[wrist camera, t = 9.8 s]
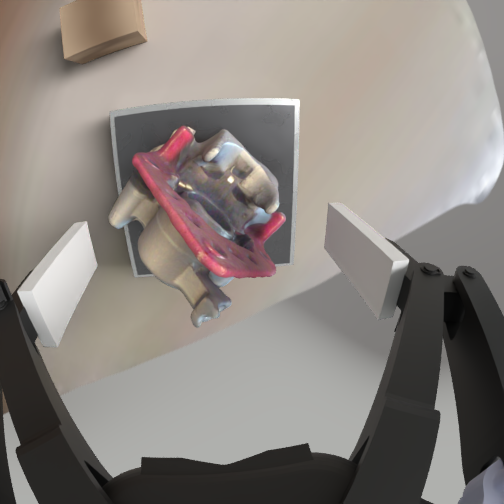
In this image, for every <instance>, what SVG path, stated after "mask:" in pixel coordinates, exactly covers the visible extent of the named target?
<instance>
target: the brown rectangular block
mask: <svg viewBox="0 0 504 504" xmlns="http://www.w3.org/2000/svg"><path fill="white" fill-rule="evenodd" d="M60 21H61V33H62V43H63V52H64V59H66V60H70V61H74V62H77V63H81V64H84V63H87V62H89V61H92V60H94V59H97V58H99V57H102V56H104V55H107V54H110V53H113V52H116V51H118V50H121V49H124V48H127V47H131V46H134V45H137V44H140V43H144V42H147V37H146V31H145V24H144V18H143V11H142V4H141V0H76V1H74V2H72V3H69V4H67V5H65V6H63V7H61V8H60Z"/></svg>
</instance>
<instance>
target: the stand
mask: <svg viewBox="0 0 504 504" xmlns="http://www.w3.org/2000/svg"><path fill="white" fill-rule="evenodd" d="M110 125H111V137H112V148H113V157H114V166H115V174H116V181H117V188H118V195H120V193H121V192H122V190H123V189H124V187H125V186H126V184H127V182H128V181H129V179H130V177H131V175H132V173H133V171H134V169H135V168H136V167H135V166H134V165H133V164H132V158H133V156H134V155H135V154H136V153H139V152H142V153H147V152H150V151H151V150H152V149H154V148H155V147H157V146H160V145H163V144H165V143H166V142H167V141H168V140H169V139H170V137H171V135H172V133H173V131H174V130H176V129H178V128H180V127H181V126H186V127H190V128H192V129H193V130H195V134H194V138H195V141H196V142H197V143H201V142H204V141H206V140H208V139H209V138H211V137H212V136H214V135H216V134H217V133H219V132H220V131H221V130H222V129H225V130H227V131H229V132H230V133H231V134H232V135H233V136H234V137H235V138H236V139H237V140H238V141H239V142H240V143H241V144H242V145H243V146H244V148H245V149H246V150H247V151H248V152H249V153H250V154H251V155H252V156H253V157H254V158H255V159H256V160H258V161H259V162H261V163H262V164H263V165H264V166H266V167H267V168H268V169H269V171H270V172H271V173H272V174H273V175H274V176H275V177H276V179H277V181H278V192H279V207H278V208H277V210H276V211H277V212H282V213H283V214H284V215H285V216H286V221H285V222H284V223H283V224H282V225H281V226H280V228H279V229H278V230H277V231H275V232H274V233H273V234H272V235H271V236H270V237H269V238H268V239H267V240H266V241H265V243H264V249H265V252H266V253H267V254H268V255H269V257H270V259H271V260H272V262H273V263H274V264H275V266H286V265H293V264H294V248H295V230H296V210H297V186H298V155H299V99H280V98H233V99H209V100H194V101H182V102H172V103H163V104H154V105H147V106H140V107H133V108H127V109H121V110H115V111H110ZM124 230H125V236H126V241H127V246H128V251H129V255H130V260H131V265H132V269H133V273H134V277H148V276H154V275H153V274H152V273H151V272H150V271H149V270H148V269H147V267H146V266H145V265H144V264H143V262H142V260H141V258H140V255H139V252H138V239H139V237H140V235H141V233H142V232H143V231H144V228H143V226H142V224H141V223H140V222H139V221H138V220H134V221H131V222H130V223H128V224H127V225H125V226H124Z"/></svg>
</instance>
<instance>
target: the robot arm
mask: <svg viewBox="0 0 504 504" xmlns="http://www.w3.org/2000/svg"><path fill="white" fill-rule="evenodd" d="M324 248H325V250H326V251H327V252H328V254H329V255H330V256H331V257H332V259H333V260H334V261H335V263H336V264H337V265H338V267H339V268H340V269H341V270H342V272H343V273H344V274H345V276H346V277H347V278H348V280H349V281H350V282H351V284H352V285H353V286H354V287H355V289H356V290H357V292H358V293H359V294H360V296H361V297H362V298H363V300H364V301H365V303H366V304H367V305H368V307H369V308H370V309H371V311H372V312H373V313H374V315H375V316H376V318H377V319H378V320H381V319H386V318H391V317H393V315H394V312H395V309H396V306H398V307H399V308H400V309H401V314H400V317H399V320H398V323H397V326H396V328H395V336H394V340H393V343H392V347H391V350H390V354H389V357H388V360H387V364H386V367H385V370H384V373H383V377H382V380H381V382H380V385H379V388H378V391H377V394H376V397H375V400H374V403H373V405H372V408H371V410H370V413H369V416H368V418H367V421H366V423H365V426H364V428H363V430H362V433H361V435H360V438H359V440H358V442H357V445H356V447H355V449H354V451H353V452H352V454H351V456H350V458H349V460H347V459H345V458H342V457H339V456H336V455H331V454H326V453H312V452H311V451H310V448H309V445H308V443H306V444H301V445H296V446H292V447H286V448H281V449H274V450H268V451H265V452H262V453H260V454H257V455H254V456H252V457H249V458H246V459H243V460H240V461H237V462H234V463H231V464H227V465H220V464H213V463H207V462H201V461H195V460H190V459H185V458H150V457H142V460H141V467H139V468H135V469H132V470H129V471H126V472H124V473H122V474H120V475H118V476H116V477H114V478H112V476H111V475H110V474H109V473H108V472H107V471H106V470H105V468H104V467H103V466H102V465H101V463H100V462H99V460H98V459H97V458H96V456H95V454H94V453H93V451H92V450H91V448H90V447H89V445H88V444H87V443H86V441H85V439H84V437H83V436H82V435H81V433H80V431H79V429H78V428H77V426H76V424H75V423H74V421H73V419H72V418H71V416H70V414H69V412H68V410H67V409H66V407H65V405H64V403H63V401H62V399H61V397H60V395H59V394H58V392H57V390H56V388H55V386H54V383H53V381H52V379H51V377H50V375H49V373H48V371H47V369H46V366H45V364H44V362H43V359H42V357H41V355H40V352H39V350H38V348H37V346H36V344H35V340H36V338H37V336H38V337H39V339H40V341H41V343H42V345H43V347H58V345H59V343H60V341H61V338H62V336H63V334H64V332H65V330H66V327H67V325H68V323H69V321H70V319H71V317H72V315H73V313H74V310H75V308H76V306H77V304H78V302H79V300H80V298H81V296H82V294H83V293H84V291H85V289H86V287H87V285H88V283H89V281H90V279H91V277H92V275H93V274H94V272H95V270H96V268H97V266H98V265H97V262H96V258H95V254H94V250H93V246H92V242H91V238H90V233H89V229H88V224H87V221H84V222H76V223H74V224H73V225H72V226H71V227H70V228H69V230H68V231H67V232H66V233H65V234H64V235H63V236H62V237H61V238H60V239H59V241H58V242H57V243H56V244H55V245H54V246H53V247H52V249H51V250H50V251H49V252H48V253H47V254H46V256H45V257H44V258H43V259H42V260H41V262H40V263H39V264H38V265H37V266H36V268H34V269H33V270H32V271H30V272H29V274H28V275H27V276H26V277H25V279H24V280H23V281H22V282H21V284H20V285H19V286H18V288H17V289H16V290H15V292H14V293H13V294H12V295H11V293H10V290H9V288H8V285H7V283H6V281H5V280H4V279H0V504H16V501H15V497H14V492H13V488H12V483H11V478H10V472H9V466H8V460H7V453H6V446H5V435H4V423H3V402H2V388H3V392H4V396H5V399H6V403H7V406H8V409H9V412H10V415H11V419H12V421H13V424H14V427H15V430H16V433H17V435H18V438H19V441H20V444H21V445H20V446H19V447H17V448H16V454H17V458H18V460H19V463H20V465H21V467H22V469H23V472H24V474H25V476H26V479H27V481H28V483H29V485H30V487H31V489H32V491H33V493H34V495H35V497H36V499H37V501H38V503H39V504H433V503H431V502H429V501H426V500H424V499H422V498H421V496H422V492H423V489H424V486H425V483H426V479H427V475H428V472H429V468H430V465H431V460H432V456H433V452H434V448H435V444H436V438H437V433H438V429H439V424H440V412H439V411H437V410H434V408H435V400H436V394H437V388H438V380H439V372H440V363H441V352H442V339H444V343H445V348H446V352H447V357H448V361H449V366H450V371H451V377H452V382H453V388H454V393H455V400H456V406H457V414H458V423H459V432H460V443H461V457H462V467H463V474H464V479H465V484H466V487H465V489H464V492H463V497H462V498H460V500H459V502H458V504H504V316H503V314H502V312H501V310H500V308H499V306H498V304H497V302H496V300H495V299H494V297H493V295H492V293H491V291H490V290H489V288H488V286H487V284H486V283H485V281H484V279H483V277H482V276H481V274H480V273H479V272H478V271H476V270H475V269H474V268H472V267H470V266H468V267H467V266H459V267H458V268H457V269H456V272H455V275H454V276H446V275H444V274H443V272H442V270H441V269H440V268H438V267H436V266H434V265H432V264H429V263H418V262H417V261H415V260H414V259H413V258H412V257H411V256H410V255H409V254H407V253H405V251H404V250H403V249H401V248H400V247H399V246H398V245H397V244H396V243H395V242H393V241H391V240H389V239H387V238H384V237H383V236H382V235H380V234H379V233H378V232H377V231H376V230H374V229H373V228H372V227H371V226H370V225H368V224H367V223H366V222H365V221H364V220H362V219H361V218H360V217H359V216H357V215H356V214H355V213H354V212H352V211H351V210H350V209H349V208H347V207H346V206H345V205H344V204H342V203H328V214H327V225H326V235H325V245H324Z"/></svg>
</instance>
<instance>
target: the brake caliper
mask: <svg viewBox="0 0 504 504" xmlns="http://www.w3.org/2000/svg"><path fill="white" fill-rule="evenodd" d="M194 134H195V130H193V129H192V128H190V127H186V126H181V127H180V128H178V129H176V130H174V131H173V133H172V135H171V137H170V139H169V140H168V141H167V142H166V143H165V144H163V145H160V146H157V147H155V148H154V149H152V150H151V151H150V152H147V153H142V152H139V153H136V154H135V155H134V156H133V158H132V164H133V165H134V166H135V167H136V168H135V169H134V171H133V173H132V175H131V177H130V179H129V181H128V182H127V184H126V186H125V187H124V189H123V190H122V192H121V193H120V195H119V197H118V199H117V200H116V202H115V203H114V205H113V207H112V210H111V211H110V213H109V216H108V220H109V222H110V224H111V225H112V226H113V227H115V228H117V229H120V228H122V227H123V226H125V225H127V224H128V223H130V222H131V221H134V220H138V221H139V222H140V223H141V224H142V226H143V228H144V231H143V232H142V233H141V235H140V237H139V239H138V252H139V255H140V258H141V260H142V262H143V264H144V265H145V266H146V267H147V269H148V270H149V271H150V272H151V273H152V274H153V275H154V276H155V277H156V278H157V279H159V280H160V281H161V282H163V283H164V284H166V285H168V286H170V287H173V288H176V289H179V290H180V291H181V292H182V293H183V294H184V296H185V297H186V299H187V300H188V302H189V303H190V305H191V306H192V308H193V309H194V310H193V312H192V313H191V320H192V323H193V325H194V326H195V327H200V326H201V322H204V321H208V320H210V319H212V318H218V317H219V316H220V312H221V311H223V310H224V309H226V308H228V307H229V306H231V299H230V298H229V297H227V296H226V295H225V294H224V293H223V292H222V291H221V290H220V289H219V287H222V286H225V285H226V284H228V283H229V282H230V281H231V280H232V279H233V278H234V277H235V278H244V277H252V278H256V277H266V276H267V277H271V276H272V275H274V274H275V273H276V266H275V264H274V263H273V262H272V260H271V259H270V257H269V255H268V254H267V253H266V252H265V249H264V243H265V241H266V240H267V239H268V238H269V237H270V236H271V235H272V234H273V233H274V232H275V231H277V230H278V229H279V228H280V226H281V225H282V224H283V223H284V222H285V221H286V216H285V215H284V214H283V213H282V212H277V211H276V210H277V208H278V207H279V192H278V181H277V179H276V177H275V176H274V175H273V174H272V173H271V172H270V171H269V169H268V168H267V167H266V166H264V165H263V164H262V163H261V162H259V161H258V160H256V159H255V158H254V157H253V156H252V155H251V154H250V153H249V152H248V151H247V150H246V149H245V148H244V146H243V145H242V144H241V143H240V142H239V141H238V140H237V139H236V138H235V137H234V136H233V135H232V134H231V133H230V132H229V131H227V130H225V129H222V130H221V131H220V132H219V133H217V134H216V135H214V136H212V137H211V138H209V139H208V140H206V141H204V142H201V143H197V142H196V141H195V138H194Z"/></svg>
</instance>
